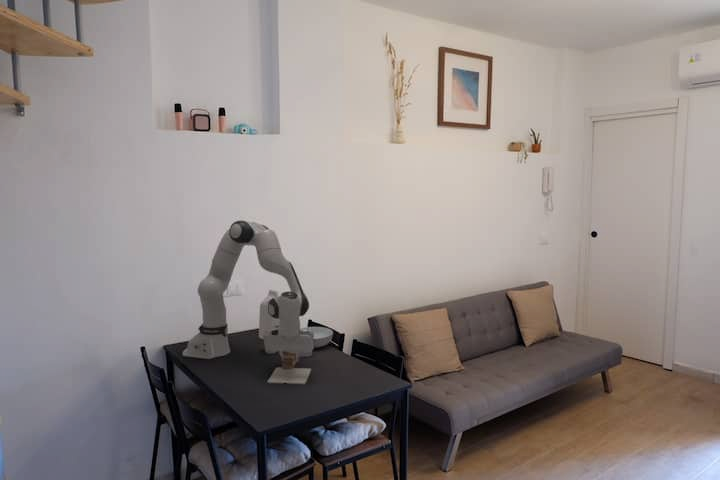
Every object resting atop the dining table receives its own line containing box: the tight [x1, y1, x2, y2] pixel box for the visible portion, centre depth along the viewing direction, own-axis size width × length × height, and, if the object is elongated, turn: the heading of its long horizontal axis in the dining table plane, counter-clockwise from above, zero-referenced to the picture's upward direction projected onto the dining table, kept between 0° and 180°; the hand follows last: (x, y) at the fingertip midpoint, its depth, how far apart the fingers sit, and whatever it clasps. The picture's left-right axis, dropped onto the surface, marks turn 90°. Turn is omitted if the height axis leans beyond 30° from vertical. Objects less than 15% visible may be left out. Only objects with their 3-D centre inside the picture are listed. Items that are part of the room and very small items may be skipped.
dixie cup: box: [262, 330, 278, 354], centre depth 244 cm, size 8×8×10 cm
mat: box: [267, 367, 312, 385], centre depth 214 cm, size 16×16×1 cm
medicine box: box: [297, 350, 313, 358], centre depth 239 cm, size 8×4×9 cm, turn 84°
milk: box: [258, 289, 280, 340], centre depth 265 cm, size 12×12×26 cm
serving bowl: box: [300, 326, 334, 349], centre depth 255 cm, size 21×21×7 cm
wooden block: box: [281, 351, 297, 370], centre depth 213 cm, size 12×4×4 cm, turn 176°
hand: (290, 360), depth 213 cm, fingers closed on wooden block, 4 cm apart
